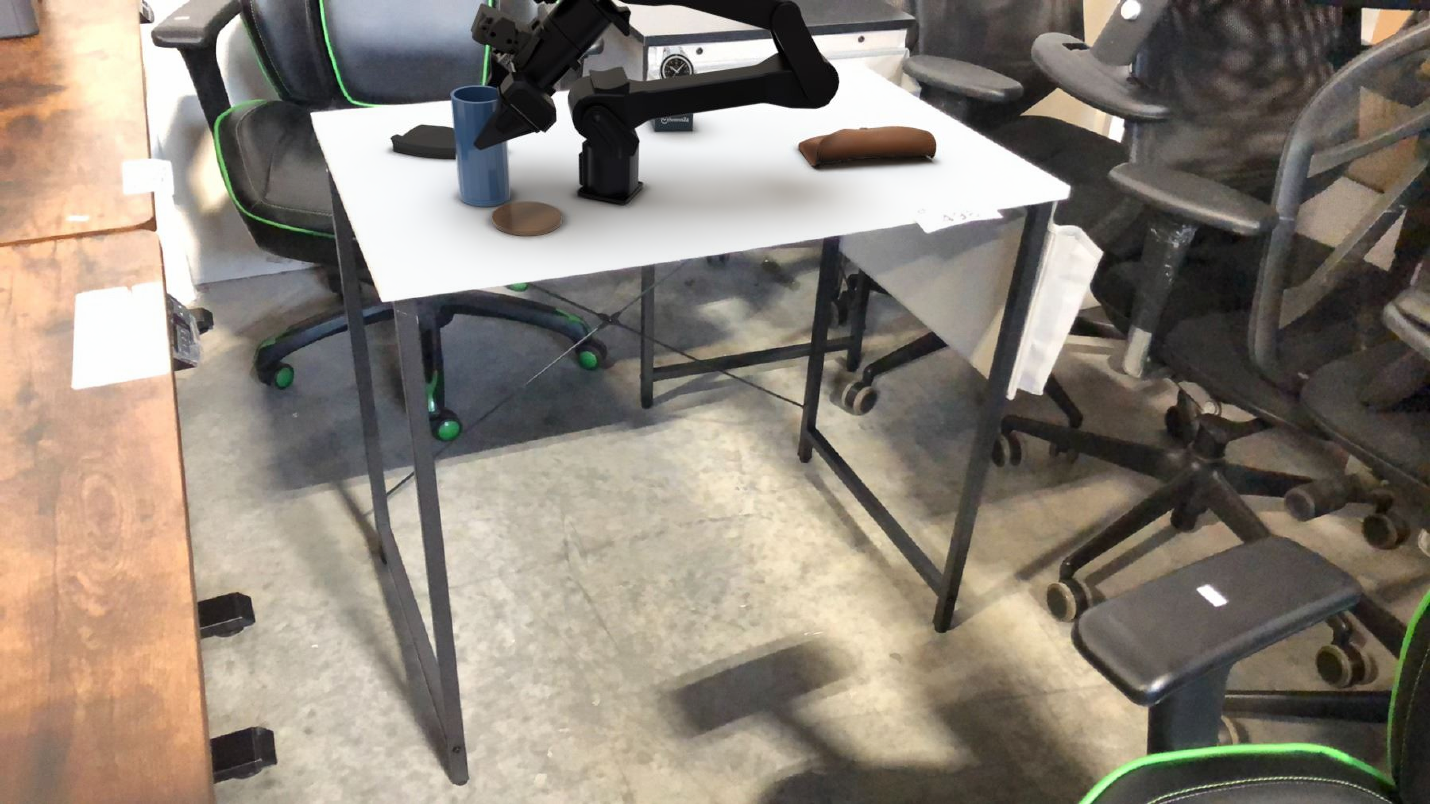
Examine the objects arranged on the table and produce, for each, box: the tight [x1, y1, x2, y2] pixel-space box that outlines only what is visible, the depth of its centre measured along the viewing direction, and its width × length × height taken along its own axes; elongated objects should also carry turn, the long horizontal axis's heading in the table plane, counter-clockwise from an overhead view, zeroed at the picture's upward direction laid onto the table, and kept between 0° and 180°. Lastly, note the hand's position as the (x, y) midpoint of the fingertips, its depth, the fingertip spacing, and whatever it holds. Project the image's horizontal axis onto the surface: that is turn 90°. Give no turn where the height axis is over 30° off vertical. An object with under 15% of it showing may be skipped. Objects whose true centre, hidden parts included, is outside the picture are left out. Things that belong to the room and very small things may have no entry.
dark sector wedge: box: [389, 123, 456, 159], centre depth 131 cm, size 8×14×2 cm, turn 73°
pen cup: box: [449, 85, 511, 208], centre depth 116 cm, size 6×6×12 cm
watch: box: [649, 46, 698, 132], centre depth 140 cm, size 6×8×11 cm
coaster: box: [491, 200, 563, 237], centre depth 115 cm, size 8×8×1 cm
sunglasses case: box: [797, 125, 937, 167], centre depth 138 cm, size 18×7×7 cm
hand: (474, 132), depth 115 cm, fingers open, 9 cm apart
